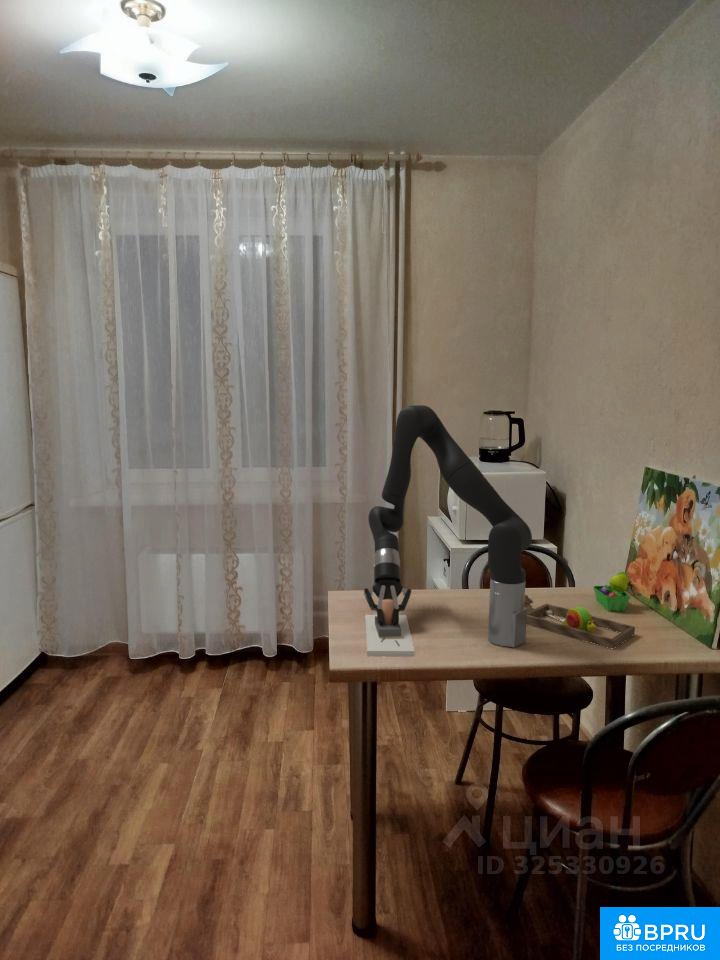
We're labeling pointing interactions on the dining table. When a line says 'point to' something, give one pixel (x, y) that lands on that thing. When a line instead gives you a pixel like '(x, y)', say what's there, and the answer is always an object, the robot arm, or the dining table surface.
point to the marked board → (389, 640)
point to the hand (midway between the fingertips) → (388, 623)
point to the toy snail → (577, 619)
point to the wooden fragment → (526, 604)
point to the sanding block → (388, 621)
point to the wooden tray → (577, 633)
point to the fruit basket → (613, 593)
